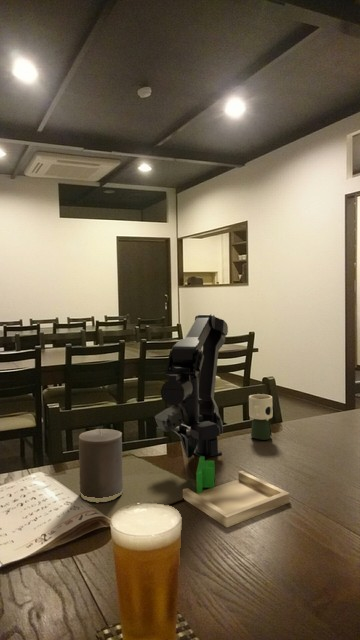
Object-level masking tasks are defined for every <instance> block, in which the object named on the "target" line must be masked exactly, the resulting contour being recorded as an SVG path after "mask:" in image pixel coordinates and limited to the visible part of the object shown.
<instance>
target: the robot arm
mask: <svg viewBox="0 0 360 640" xmlns="http://www.w3.org/2000/svg"><path fill="white" fill-rule="evenodd" d="M190 327H191V328H190V329H189V331H188V332H187V334H186V335H185V337H184V339H181V340H177V342H176V343H175V344H174V345H173V346H172V348H171V350H170V351H169V354H168V360H167V362H166V363H167V365H166V368H165V375H168V376H167V379H168V380H167V381H166V382H164V383H163V385H162V386H161V389H160V396H161V398H162V400H163V401H164V402H165V403H166V404H168V405H169V406H170V407H168V408H165V409H164V410H162V411H160V412H159V413H157V414H156V415H155V416H154V419H155V422H156V424H157V427H158V429H159V430H162V431H164V432H166V433H169V432H174V433H175V434H177V435H178V437H179V439H180V442H181V444H182V447H183V451H184V453H185V456H186V457H187V458H188V459H189V458H192V457H193V455H196V456H198V457H200V456H204V458H205V459H208V458H212V457H216V456H218V455H222V454H223V451H222V450H219V439H218V437H220V435H221V434H223V433H224V425H223V419H222V417H221V415H220V412H219V407H218V405H217V402H216V401H215V391H216V389H215V388H216V379H217V372H218V371H217V370H218V369H217V368H218V359H219V358H218V357H219V351H220V350H221V348H222V347H223V345H224V344H225V343H226V339H227V338H226V337H227V335H228V334H229V329H228V328H229V326H228V324H227V322H226V321H225V320H224V319H222V318H219V317H216V316H215V314H212V313H206V314H204V313H201V314H200V313H199V314H196V315H195V317H194V322H193V323H192V325H191V326H190Z"/></svg>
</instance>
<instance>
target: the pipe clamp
mask: <svg viewBox="0 0 360 640" xmlns="http://www.w3.org/2000/svg"><path fill="white" fill-rule="evenodd" d="M205 459H206V458H204V456H199V458H198V463H197V468H196V472H195V475H196V493H202V491H203V488H208V489H210V488H214V487H215V481H216V472H215V471H216V470H215V468H216V467H215V460H207V459H206V460H205Z"/></svg>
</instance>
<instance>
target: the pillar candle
mask: <svg viewBox="0 0 360 640" xmlns="http://www.w3.org/2000/svg"><path fill="white" fill-rule="evenodd" d="M122 434H123V432H121V431H119V430H115V429H109V428H96V429H92V430H88V431H84V432H81V433H80V434H79V436H78V459H79V460H78V462H79V463H78V464H79V466H78V467H79V493H80V492H81V493H82V494H83V495H84V496H87V497H95V498H103V497H109V496H113V495H115V494H118V493H120V492H121V491H122V489H123V490H124V479H123V478H124V475H123V469H124V468H123V441H122V440H123V438H122V436H123V435H122Z"/></svg>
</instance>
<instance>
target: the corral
mask: <svg viewBox="0 0 360 640" xmlns="http://www.w3.org/2000/svg"><path fill="white" fill-rule="evenodd" d="M237 475H238V476H237V477H238V479H235V480H232V481H229V482H225V483H223V484H219V485H217V486H214V488H208V489H204V490H202V493H197V492H194V491H193V490H191V489H190V488H188V487H186V488H183V489H182V499H183V498H184V501H186V502H187V503H189V504H191V505H192V506H194V507H196V509H198V510H200V511H201V512H203V513H205V514H206V515H208V516H209V517H210V518H211V519H213V520H215V521H216V522H218V523H219V524H221V525H222V526H223V527H225V528H230V527H232V526H235V525H237V524H239V523H240V524H241V523H242V522H245V521H247V520H249V519H252V518H254V517H257V516H259V515H262V514H265V513H268V512H269V511H270V512H271V510H274V509H277V508H279V507H282V506H284V505H285V506H286V505H287V504H290V502H291V498H290V497H291V494H290V492H288V491H286V490H284V489H281V488H280V487H277V486H276V485H273V484H271V483H269V482H267V481H265V480H263V479H261V478H258V477H256V476H255V475H252V474H250V473H249V472H246V471H243V470H240V471H238V473H237Z"/></svg>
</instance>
